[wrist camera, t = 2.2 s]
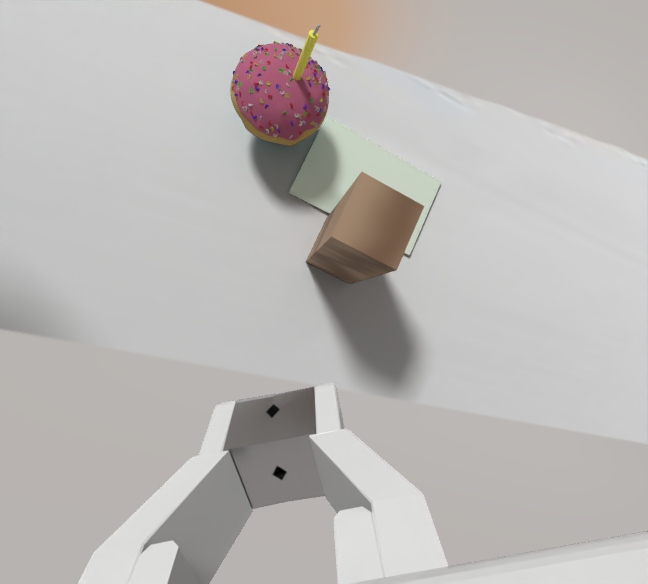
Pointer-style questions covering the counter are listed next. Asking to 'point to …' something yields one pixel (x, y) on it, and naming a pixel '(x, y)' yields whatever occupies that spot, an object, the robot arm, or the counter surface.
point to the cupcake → (281, 91)
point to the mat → (357, 172)
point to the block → (365, 231)
